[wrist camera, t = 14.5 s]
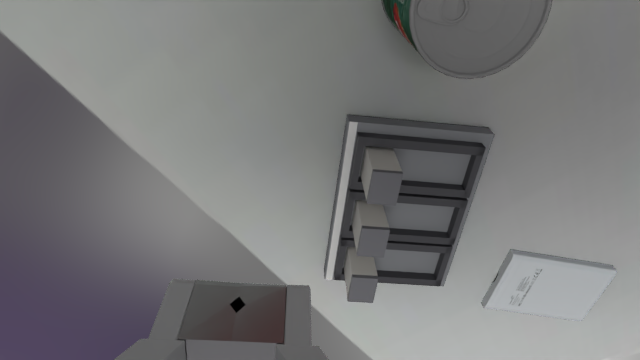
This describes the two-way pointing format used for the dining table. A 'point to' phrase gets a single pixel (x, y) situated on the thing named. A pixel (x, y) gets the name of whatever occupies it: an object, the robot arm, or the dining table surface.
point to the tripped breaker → (360, 277)
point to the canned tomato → (469, 32)
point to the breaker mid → (370, 229)
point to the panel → (410, 195)
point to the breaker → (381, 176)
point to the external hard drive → (548, 285)
